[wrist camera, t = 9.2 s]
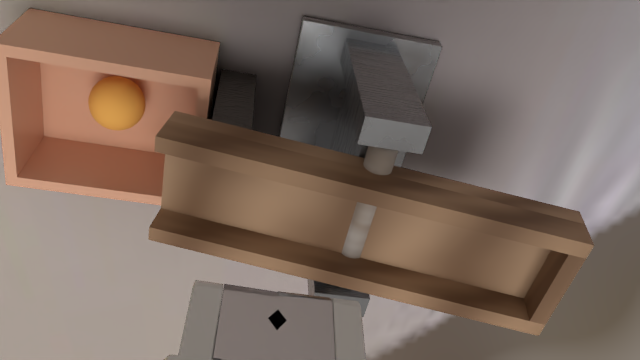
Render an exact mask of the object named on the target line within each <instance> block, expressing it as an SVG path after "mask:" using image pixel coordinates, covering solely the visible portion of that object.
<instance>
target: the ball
mask: <svg viewBox="0 0 640 360" xmlns="http://www.w3.org/2000/svg"><path fill="white" fill-rule="evenodd" d="M88 104H89V110H90V112H91V115H92V116H93V118H94V119H95V120H96V121H97V122H98V123H99V124H100V125H101V126H103V127H105V128H107V129H111V130H125V129H129V128H131V127H133V126H134V125H136V124H137V123H138V122H139V121H140V119H141V118H142V116H143V114H144V111H145V98H144V95H143V92H142V91H141V89H140V88H139V86H138V85H137V84H135V83H134V82H133V81H131V80H129V79H127V78H125V77H120V76H111V77H107V78H104V79H102V80H100V81H99V82H98V83H97V84H96V85H95V86H94V87H93V88H92V90H91V92H90V95H89V99H88Z"/></svg>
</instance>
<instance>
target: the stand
mask: <svg viewBox="0 0 640 360" xmlns="http://www.w3.org/2000/svg"><path fill="white" fill-rule="evenodd" d="M441 49H442V46H441V44H440V42H438V41H433V40H428V39H422V38H417V37H412V36H407V35H401V34H396V33H391V32H386V31H381V30H375V29H370V28H365V27H360V26H354V25H349V24H344V23H339V22H334V21H328V20H323V19H318V18H313V17H307V16H303V18H302V23H301V28H300V33H299V38H298V43H297V48H296V53H295V58H294V63H293V68H292V73H291V78H290V83H289V88H288V93H287V98H286V103H285V108H284V113H283V118H282V123H281V128H280V133H279V137H282V138H286V139H290V140H294V141H298V142H302V143H306V144H310V145H314V146H318V147H322V148H326V149H330V150H334V151H338V152H342V153H346V154H350V155H354V156H358V157H362V158H365V155H366V152H367V149H368V146H372V147H379V148H385V149H391V150H398V154H397V157H396V160H395V163H394V166H398V167H401V165H402V162H403V160H404V157H405V154H406V152H410V153H417V154H423V151H424V148H425V145H426V143H427V140H428V137H429V134H430V132H431V129H432V126H431V124H430V122H429V119H428V117H427V115H426V112H425V110H424V108H423V105H422V104H423V101H424V98H425V96H426V93H427V90H428V87H429V84H430V81H431V78H432V75H433V72H434V69H435V66H436V64H437V61H438V58H439V55H440V52H441ZM255 85H256V75H253V74H247V73H241V72H235V71H230V70H224V69H222V72H221V77H220V82H219V87H218V92H217V97H216V102H215V107H214V112H213V116H212V120H214V121H218V122H222V123H226V124H230V125H234V126H238V127H242V128H246V129H250V130H252V121H253V109H254V97H255ZM308 294H309V295H312V296H321V297H329V298H330V299H331V298H337V299H345V300H353V301H358V302H359V304H360V306H361V315H362V317H363V316H364V314H365V311H366V308H367V305H368V303H369V300H370V297H369V294H367V293H363V292H359V291H355V290H351V289H347V288H342V287H338V286H335V285H330V284H326V283H322V282H318V281H314V280H310V279H308Z"/></svg>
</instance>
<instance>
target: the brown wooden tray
mask: <svg viewBox="0 0 640 360" xmlns="http://www.w3.org/2000/svg"><path fill="white" fill-rule="evenodd" d="M154 151H155V152H159V153H163V154H165V162H164V175H163V188H162V201H161V209H160V211H159V212H158V214H157V216H156V217H155V219H154V220H153V222H152V224H151V225H150V227H149V240H152V241H156V242H160V243H165V244H169V245H173V246H177V247H181V248H185V249H189V250H193V251H197V252H201V253H205V254H209V255H213V256H217V257H221V258H225V259H229V260H233V261H237V262H241V263H245V264H250V265H254V266H258V267H262V268H266V269H270V270H274V271H278V272H282V273H286V274H290V275H294V276H298V277H302V278H306V279H310V280H314V281H318V282H322V283H326V284H330V285H335V286H338V287H342V288H347V289H351V290H355V291H359V292H363V293H367V294H371V295H375V296H379V297H383V298H387V299H391V300H395V301H399V302H403V303H407V304H411V305H415V306H420V307H424V308H428V309H432V310H436V311H440V312H444V313H448V314H452V315H456V316H460V317H464V318H468V319H472V320H477V321H480V322H484V323H489V324H492V325H497V326H500V327H505V328H509V329H513V330H517V331H521V332H525V333H529V334H533V335H537V336H539V334H540V333H541V331H542V330H543V328H544V326H545V325H546V323H547V321H548V320H549V318H550V317H551V315H552V313H553V312H554V310H555V308H556V307H557V305H558V303H559V302H560V300H561V298H562V297H563V295H564V294H565V292H566V290H567V289H568V287H569V286H570V284H571V282H572V281H573V279H574V277H575V276H576V274H577V272H578V271H579V269H580V267H581V266H582V264H583V263H584V261H585V260H586V258H587V256H588V255H589V253H590V251H591V250H592V248H593V247H594V244H593V242H592V239H591V237H590V235H589V232H588V230H587V228H586V225H585V223H584V221H583V219H582V216H581V214H580V212H578V211H574V210H570V209H566V208H562V207H558V206H554V205H550V204H546V203H542V202H538V201H534V200H530V199H526V198H522V197H518V196H514V195H510V194H506V193H502V192H498V191H494V190H490V189H486V188H482V187H478V186H474V185H470V184H466V183H462V182H458V181H454V180H450V179H446V178H442V177H438V176H434V175H430V174H426V173H422V172H418V171H414V170H410V169H406V168H402V167H398V166H394V163H395V160H396V157H397V154H398V150H391V149H385V148H379V147H372V146H368V149H367V152H366V155H365V158H362V157H358V156H354V155H350V154H346V153H342V152H338V151H334V150H330V149H326V148H322V147H318V146H314V145H310V144H306V143H302V142H298V141H294V140H290V139H286V138H282V137H278V136H274V135H270V134H266V133H262V132H258V131H254V130H250V129H246V128H242V127H238V126H234V125H230V124H226V123H222V122H218V121H214V120H210V119H206V118H202V117H198V116H194V115H190V114H186V113H182V112H178V111H174V113H173V114H172V115H171V116H170V118H169V119H168V120H167V122H166V123H165V124H164V126H163V127H162V128H161V130H160V131H159V132H158V133H157V135H156V136H155V150H154Z"/></svg>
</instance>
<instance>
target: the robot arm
mask: <svg viewBox="0 0 640 360" xmlns="http://www.w3.org/2000/svg"><path fill="white" fill-rule="evenodd" d="M222 291H223V294H222ZM221 298H222V301H221ZM220 305H221V307H220ZM219 312H220V313H219ZM218 319H219V320H218ZM164 360H366V353H365V344H364V334H363V325H362V315H361V306H360V304H359V302H358V301H353V300H345V299H337V298H331V299H330V298H329V297H321V296H312V295H304V294H295V293H287V292H274V291H268V290H261V289H255V288H248V287H242V286H235V285H229V284H224V288H223V284H219V283H212V282H206V281H199V280H195V283H194V285H193V288H192V293H191V297H190V302H189V307H188V311H187V316H186V321H185V325H184V330H183V335H182V339H181V344H180V349H179V353H178V355H168V356H167V357H166V358H165V359H164Z"/></svg>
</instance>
